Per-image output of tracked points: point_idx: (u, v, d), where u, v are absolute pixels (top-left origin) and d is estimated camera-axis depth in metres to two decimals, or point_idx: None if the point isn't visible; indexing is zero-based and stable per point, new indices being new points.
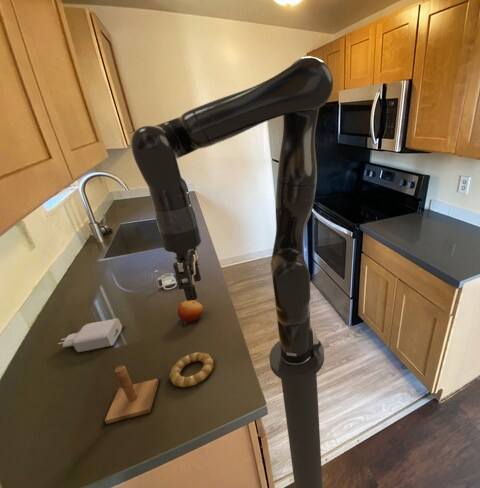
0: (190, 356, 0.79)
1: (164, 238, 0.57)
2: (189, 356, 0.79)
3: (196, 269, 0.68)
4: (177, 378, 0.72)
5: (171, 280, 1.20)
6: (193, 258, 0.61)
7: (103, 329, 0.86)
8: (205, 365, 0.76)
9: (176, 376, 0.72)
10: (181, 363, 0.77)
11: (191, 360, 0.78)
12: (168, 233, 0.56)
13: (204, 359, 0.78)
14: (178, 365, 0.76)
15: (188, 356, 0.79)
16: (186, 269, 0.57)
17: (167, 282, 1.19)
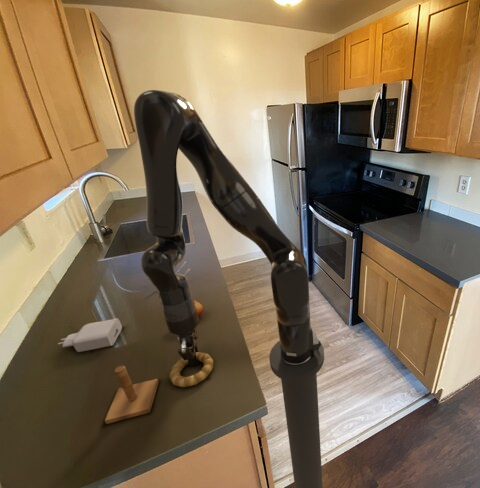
0: None
1: (169, 325, 0.71)
2: None
3: (195, 347, 0.80)
4: (177, 378, 0.72)
5: None
6: (193, 337, 0.75)
7: (103, 329, 0.86)
8: (205, 364, 0.76)
9: (176, 376, 0.72)
10: (181, 363, 0.77)
11: None
12: (172, 321, 0.70)
13: (204, 359, 0.78)
14: (178, 365, 0.76)
15: None
16: (189, 353, 0.72)
17: None
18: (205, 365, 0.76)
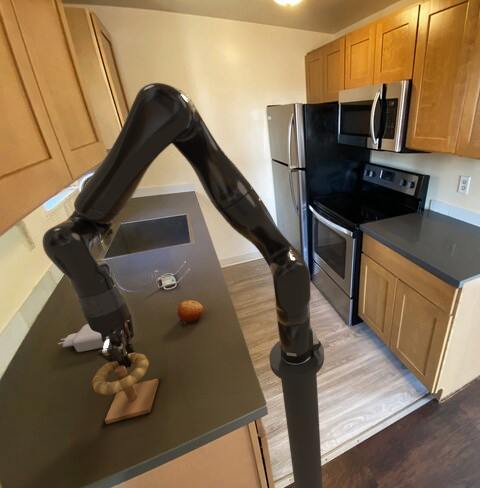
0: None
1: (88, 320, 0.59)
2: None
3: (129, 347, 0.69)
4: (99, 384, 0.61)
5: (171, 280, 1.20)
6: (121, 335, 0.64)
7: None
8: (137, 368, 0.64)
9: (98, 381, 0.61)
10: (109, 366, 0.65)
11: None
12: (90, 316, 0.58)
13: (137, 361, 0.66)
14: (105, 368, 0.65)
15: None
16: (112, 354, 0.60)
17: (167, 282, 1.19)
18: (136, 368, 0.64)
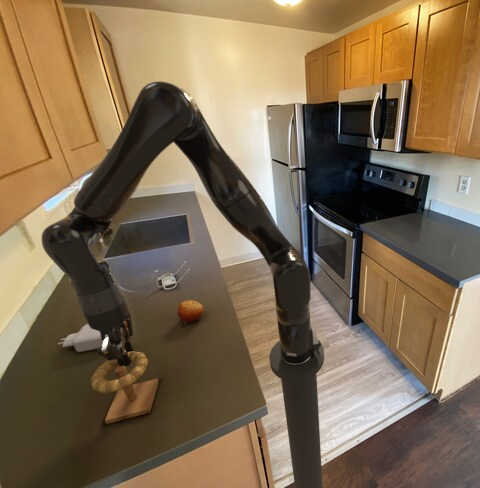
0: None
1: (87, 318, 0.59)
2: None
3: (128, 346, 0.68)
4: (98, 382, 0.60)
5: (171, 280, 1.20)
6: (120, 333, 0.63)
7: None
8: (136, 366, 0.64)
9: (97, 380, 0.61)
10: (108, 364, 0.65)
11: None
12: (89, 314, 0.58)
13: (136, 359, 0.66)
14: (104, 366, 0.64)
15: None
16: (111, 352, 0.60)
17: (167, 282, 1.19)
18: (135, 367, 0.64)
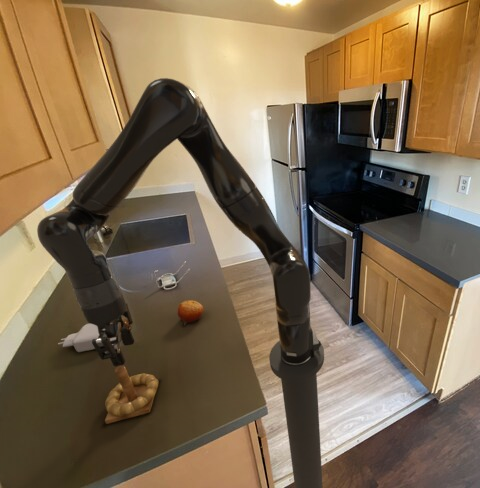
0: (132, 378, 0.71)
1: (84, 312, 0.58)
2: (131, 378, 0.71)
3: (127, 334, 0.69)
4: (112, 405, 0.64)
5: (171, 280, 1.20)
6: (117, 327, 0.63)
7: None
8: (147, 389, 0.68)
9: (111, 403, 0.64)
10: (121, 387, 0.69)
11: (133, 383, 0.71)
12: (86, 308, 0.57)
13: (147, 382, 0.70)
14: (117, 389, 0.68)
15: (130, 378, 0.71)
16: (106, 344, 0.58)
17: (167, 282, 1.19)
18: (147, 389, 0.68)
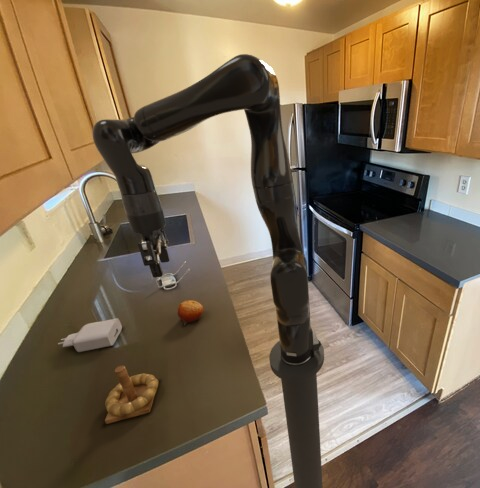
0: (132, 378, 0.71)
1: (130, 220, 0.64)
2: (131, 378, 0.71)
3: (164, 251, 0.75)
4: (112, 405, 0.64)
5: (171, 280, 1.20)
6: (158, 239, 0.68)
7: (103, 329, 0.86)
8: (147, 389, 0.68)
9: (111, 403, 0.64)
10: (121, 387, 0.69)
11: (133, 383, 0.71)
12: (133, 215, 0.63)
13: (147, 382, 0.70)
14: (117, 389, 0.68)
15: (130, 378, 0.71)
16: (149, 247, 0.64)
17: (167, 282, 1.19)
18: (147, 389, 0.68)
